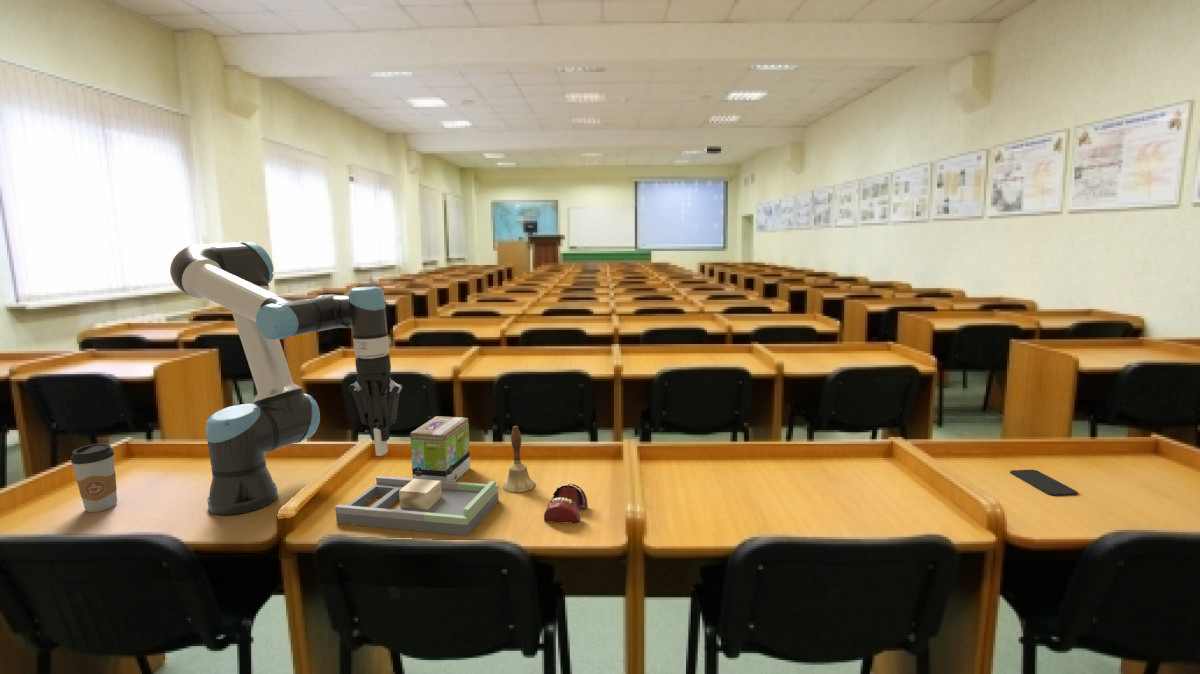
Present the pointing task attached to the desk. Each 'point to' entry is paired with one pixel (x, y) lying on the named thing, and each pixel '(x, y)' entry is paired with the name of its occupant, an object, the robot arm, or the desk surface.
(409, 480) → the lane deck
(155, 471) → the desk surface
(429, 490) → the block
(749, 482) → the desk surface
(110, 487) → the coffee cup
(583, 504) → the teeth model
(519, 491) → the hand bell
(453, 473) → the tea box
